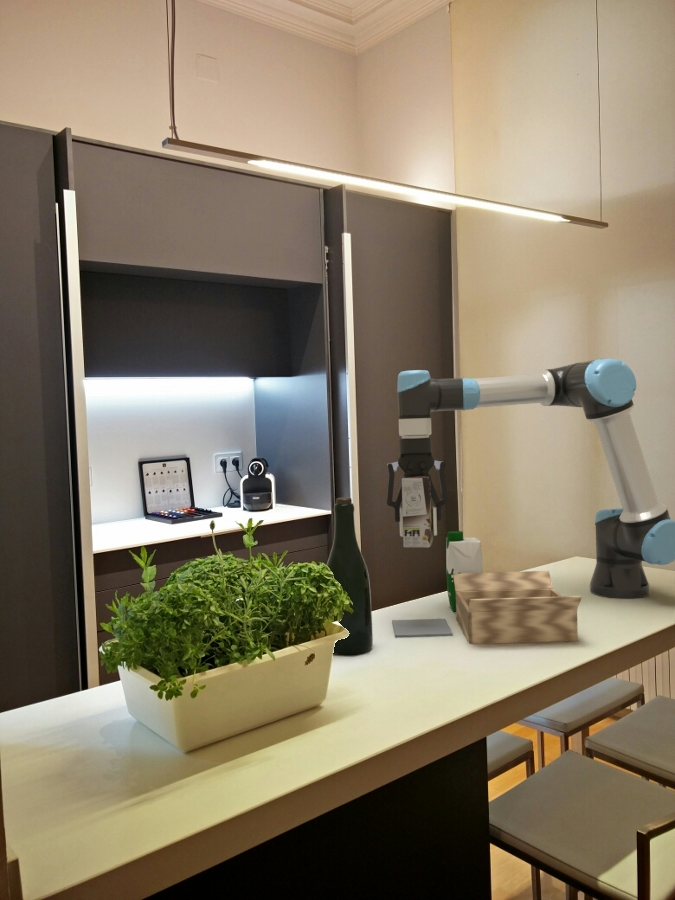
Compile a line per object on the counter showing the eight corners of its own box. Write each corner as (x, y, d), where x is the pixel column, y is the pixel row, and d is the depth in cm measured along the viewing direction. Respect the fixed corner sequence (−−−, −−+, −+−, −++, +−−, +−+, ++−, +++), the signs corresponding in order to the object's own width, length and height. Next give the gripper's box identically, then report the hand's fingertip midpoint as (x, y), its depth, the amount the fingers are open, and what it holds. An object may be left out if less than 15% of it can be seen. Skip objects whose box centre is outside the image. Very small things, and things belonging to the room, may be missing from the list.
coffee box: (431, 547, 171) (428, 477, 171) (402, 547, 173) (400, 477, 172) (433, 541, 180) (431, 474, 180) (407, 541, 181) (404, 474, 181)
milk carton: (445, 605, 198) (443, 529, 198) (480, 604, 198) (478, 528, 197) (450, 613, 190) (447, 534, 189) (486, 612, 189) (484, 533, 189)
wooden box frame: (549, 613, 187) (548, 570, 187) (582, 645, 160) (581, 595, 160) (454, 615, 187) (453, 573, 187) (471, 648, 161) (470, 599, 160)
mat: (445, 620, 184) (445, 618, 184) (452, 635, 171) (452, 633, 171) (392, 622, 184) (392, 620, 184) (395, 637, 171) (395, 635, 171)
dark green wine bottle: (372, 656, 158) (367, 499, 157) (322, 656, 159) (317, 500, 157) (373, 641, 168) (368, 494, 167) (326, 642, 169) (321, 495, 168)
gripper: (455, 435, 179) (458, 531, 180) (372, 438, 179) (375, 534, 180) (460, 435, 171) (463, 536, 172) (373, 439, 172) (376, 539, 173)
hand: (418, 534), depth 176 cm, fingers closed on coffee box, 7 cm apart
